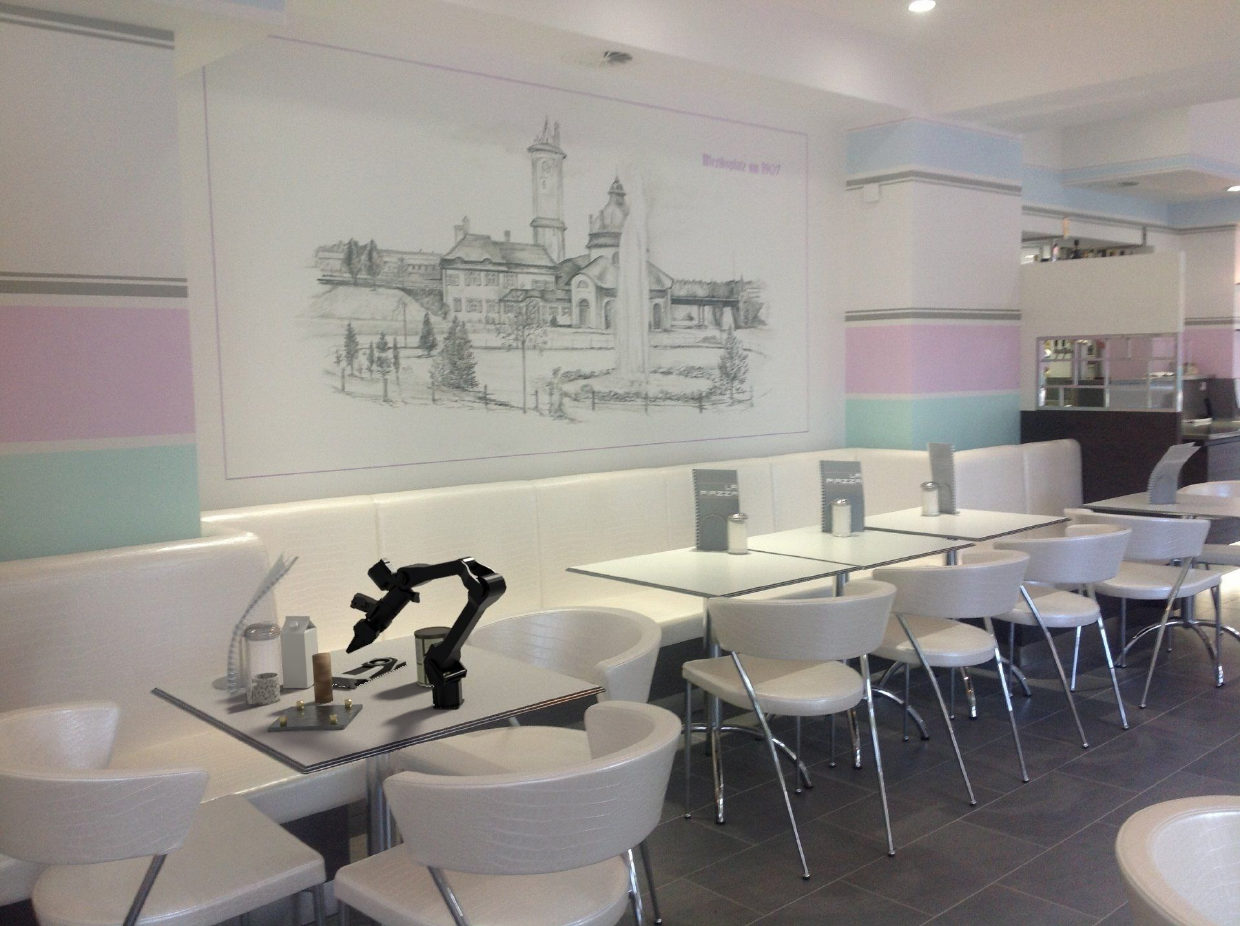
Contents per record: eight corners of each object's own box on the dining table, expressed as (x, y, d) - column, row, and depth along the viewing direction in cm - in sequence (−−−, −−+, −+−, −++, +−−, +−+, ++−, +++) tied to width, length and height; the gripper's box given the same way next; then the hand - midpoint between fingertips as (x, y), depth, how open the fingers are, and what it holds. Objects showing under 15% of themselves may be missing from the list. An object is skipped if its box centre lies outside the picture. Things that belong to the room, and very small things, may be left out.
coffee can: (445, 674, 291) (442, 624, 290) (462, 682, 283) (459, 630, 282) (410, 681, 285) (407, 630, 284) (426, 689, 277) (423, 636, 276)
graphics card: (324, 676, 284) (380, 653, 306) (324, 689, 284) (381, 664, 307) (354, 679, 280) (409, 655, 302) (355, 691, 280) (410, 667, 303)
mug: (265, 696, 277) (263, 671, 277) (285, 698, 275) (284, 673, 274) (238, 707, 268) (236, 682, 267) (259, 710, 265) (257, 684, 265)
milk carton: (296, 681, 291) (292, 613, 290) (320, 681, 289) (315, 613, 288) (283, 688, 284) (278, 618, 283) (307, 689, 282) (303, 618, 281)
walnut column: (335, 698, 273) (333, 652, 272) (329, 703, 268) (326, 657, 267) (318, 698, 273) (316, 652, 272) (312, 703, 269) (309, 657, 268)
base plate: (362, 708, 263) (362, 697, 263) (344, 728, 247) (343, 717, 247) (291, 710, 264) (290, 699, 263) (268, 731, 248) (267, 719, 247)
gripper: (377, 575, 278) (338, 618, 278) (359, 589, 259) (317, 635, 260) (409, 604, 278) (369, 647, 279) (393, 619, 259) (351, 665, 260)
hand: (351, 648), depth 270 cm, fingers open, 9 cm apart
